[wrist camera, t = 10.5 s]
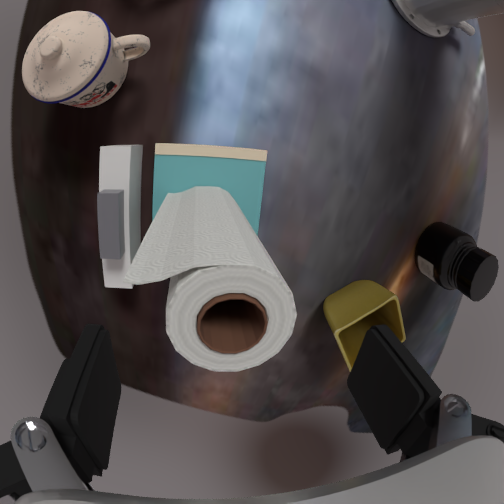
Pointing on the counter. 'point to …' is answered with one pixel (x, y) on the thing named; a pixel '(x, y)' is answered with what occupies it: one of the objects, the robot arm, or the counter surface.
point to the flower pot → (361, 315)
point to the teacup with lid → (78, 60)
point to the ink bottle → (455, 261)
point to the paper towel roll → (215, 281)
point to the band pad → (211, 174)
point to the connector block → (119, 210)
